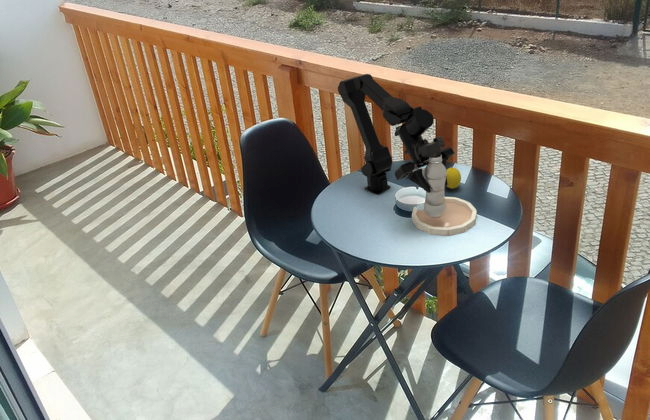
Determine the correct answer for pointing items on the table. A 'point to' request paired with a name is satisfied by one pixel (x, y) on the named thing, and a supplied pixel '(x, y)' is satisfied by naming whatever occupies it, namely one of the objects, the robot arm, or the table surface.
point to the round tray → (447, 218)
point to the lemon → (453, 177)
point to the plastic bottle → (435, 187)
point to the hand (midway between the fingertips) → (438, 188)
